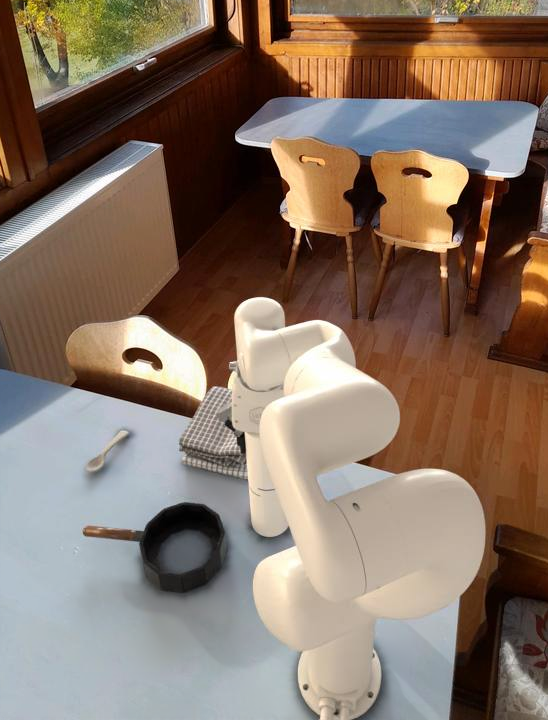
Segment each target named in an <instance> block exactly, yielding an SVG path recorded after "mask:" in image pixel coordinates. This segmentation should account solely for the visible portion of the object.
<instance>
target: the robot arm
mask: <svg viewBox="0 0 548 720" xmlns="http://www.w3.org/2000/svg"><path fill="white" fill-rule="evenodd" d="M233 317H234V318H233V319H234V320H233V323H234V334H235V346H236V347H235V348H236V357H237V358H236V360H235V361H230V362H229V364H228V370H229V371H233V372H234V373H236V374H235V376H234V378H233V384H232V388H231V389H232V402H230V403H228V404H226V405H224V406H223V407H221V408H219V409H218V411H217V414H216V416H217V417H218V418H219V419H220V420H221V421H222V422H224V423H225V426H226V427H228V428H229V429H230V430H232V431H233V432H234V436H236V437H237V446H240V452H241V454H244V453H245V452H246V445H245V432H250V433H259V434H260V442H261V448H262V451H263V455H264V459H265V463H266V465H267V468H268V471H269V474H270V477H271V480H272V482H273V485H274V488H275V490H276V493H277V495H278V498H279V501H280V503H281V506H282V508H283V511H284V514H285V516H286V519H287V522H288V525H289V526H288V528H289V530H290V532H291V533H290V534H291V536H292V538H293V542H294V544H295V545H294V546H292V547H289V548H286V549H284V550H281V551H279V552H277V553H275V554H272V555H269V556H267V557H265V558H264V559H262V560H261V561H260V562H259V563H258V564H257V566H256V568H255V570H254V573H253V579H252V594H253V600H254V605H255V608H256V611H257V613H258V615H259V618H260V619H261V621H262V623H263V625H264V626H265V628H266V629H267V630H268V632H269V633H271V635H272V636H273V637H275V638H276V639H277V640H278V641H280V642H281V643H283V644H284V645H285V646H287V647H289V648H290V649H291V650H293V651H296V652H299V653H300V652H302V653H301V655H300V658H299V661H298V667H297V680H298V687H299V690H300V693H301V694H300V695H301V696H302V698H303V700H304V701H305V703H306V704H307V706H308V707H309V708H310V709H311V710H312V711H313V712H315V714H317V715H318V716H319V720H355V719H357V718H359V717H360V716H363V715H364V714H366V713H367V712H368V710H369V709H370V708H371V707H372V706H373V704H374V703H375V702H376V699H378V698H377V697H378V695H379V693H380V689H381V684H382V666H381V662H380V659H379V655H378V653H377V651H376V649H375V648H374V645H375V632H376V621H377V619H384V620H392V621H411V620H416V619H417V620H418V619H421V618H425V617H428V616H430V615H433V614H435V613H437V612H439V611H441V610H444V609H445V608H447V607H448V606H449V605H451V604H452V603H454V602H455V601H456V600H457V599H459V597H461V596H462V595H463V594H464V593H465V592H466V591H467V590H468V588H469V587H470V585H472V583H473V581H474V580H475V578H476V576H477V574H478V572H479V570H480V567H481V564H482V561H483V557H484V555H485V554H484V553H485V547H486V532H487V531H486V519H485V513H484V509H483V508H484V507H483V505H482V503H481V501H480V498H479V496H478V494H477V492H476V491H475V489H474V488H473V487H472V486H471V484H470V483H469V482H468V481H466V480H465V478H463V477H461V476H460V475H458V474H457V473H454V472H451V471H448V470H445V469H440V468H430V467H429V468H418V469H413V470H412V469H411V470H408V471H404V472H400V473H398V474H395V475H392V476H390V477H387V478H385V479H382V480H379V481H377V482H376V481H375V482H373V483H370V484H368V485H365V486H363V487H361V488H358V489H355V490H353V491H351V492H348V493H345V494H343V495H340V496H337V497H335V498H332V499H329V500H328V499H326V498H325V496H324V493H323V491H322V489H321V485H320V484H319V482H318V478H317V477H319V476H322V475H325V474H327V473H329V472H333V471H334V470H337V469H341V468H343V467H345V466H348V465H352V464H354V463H357V462H359V461H362V460H365V459H367V458H369V457H372V456H374V455H376V454H378V453H379V452H380V451H382V450H383V449H385V448H386V447H387V446H388V445H389V444H390V443H391V442H392V441H393V440H394V438H395V436H396V435H397V433H398V430H399V428H400V423H401V412H400V407H399V404H398V402H397V400H396V398H395V396H394V395H393V393H392V392H391V391H390V390H389V389H388V388H387V387H386V386H385V385H384V384H382V383H381V382H379V381H378V380H376V379H375V378H373V377H371V376H370V375H368V374H366V373H365V372H364V371H361V370H360V369H358V368H357V363H356V361H357V360H356V355H355V351H354V348H353V345H352V344H351V341H350V340H349V338H348V336H347V334H346V333H345V332H344V330H343V329H342V328H340V327H339V326H337V325H335V324H333V323H331V322H329V321H325V320H322V319H314V320H308V321H305V322H300V323H297V324H293V325H288V326H286V315H285V311H284V308H283V306H282V305H281V304H280V303H279V302H278V301H277V300H275V299H272V298H268V297H265V296H264V297H263V296H260V297H259V296H258V297H253V298H249V299H247V300H244V301H243V302H241V303H240V304H239V305H238V307H237V308H236V309H235V312H234V316H233ZM231 413H232V415H230V414H231Z"/></svg>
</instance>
